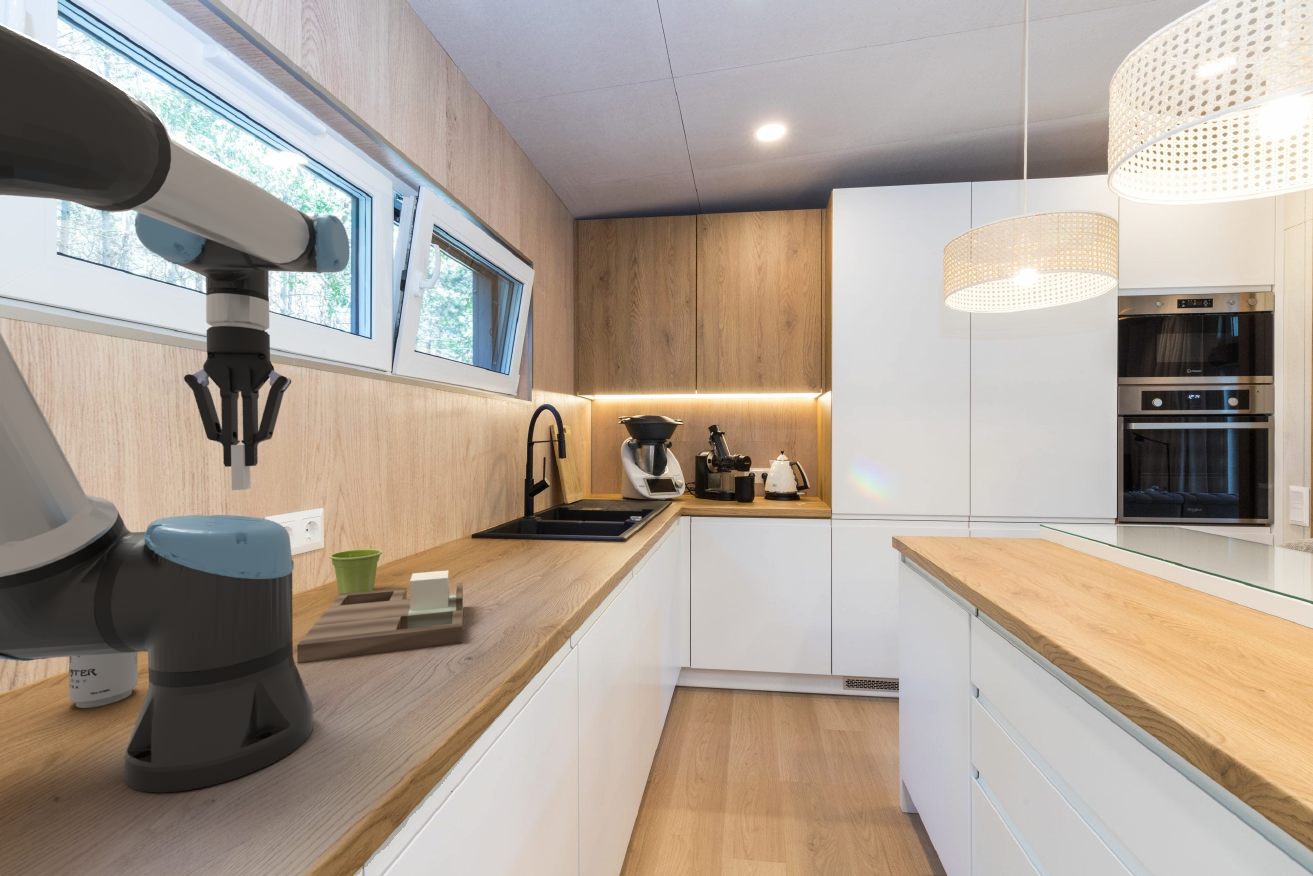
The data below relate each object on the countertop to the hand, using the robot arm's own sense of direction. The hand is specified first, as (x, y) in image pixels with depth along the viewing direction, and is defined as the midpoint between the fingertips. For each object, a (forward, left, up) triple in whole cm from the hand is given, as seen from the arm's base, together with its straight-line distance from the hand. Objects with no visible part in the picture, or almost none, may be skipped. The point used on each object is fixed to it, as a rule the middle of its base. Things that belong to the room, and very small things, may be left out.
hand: (241, 488), depth 84 cm
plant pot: (+30, -10, -25) cm, 40 cm away
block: (+8, -25, -22) cm, 34 cm away
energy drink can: (-11, +11, -25) cm, 29 cm away
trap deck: (+8, -19, -24) cm, 32 cm away
